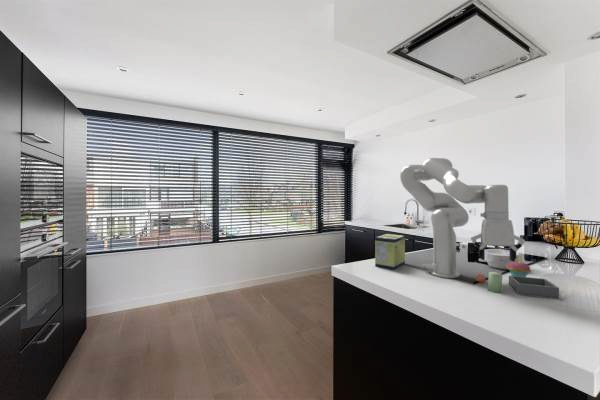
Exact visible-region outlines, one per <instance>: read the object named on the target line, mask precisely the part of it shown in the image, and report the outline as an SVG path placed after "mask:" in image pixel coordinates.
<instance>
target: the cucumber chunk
mask: <svg viewBox="0 0 600 400" xmlns="http://www.w3.org/2000/svg"><path fill="white" fill-rule="evenodd" d="M487 278H488V279H487V281H488V282H487V284H488V285H487V287H488V289H487V290H488V291H490V292H492V293H497V294H501V293H502V292H503V273H501V272H497V271H488V277H487Z"/></svg>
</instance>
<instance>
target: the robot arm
mask: <svg viewBox="0 0 600 400" xmlns="http://www.w3.org/2000/svg"><path fill="white" fill-rule="evenodd" d="M459 174H460V173H459V170H457V169H456V168H454V167H453V163H452V162H451V160H449V159H447V158H444V157H443V158H442V157H431V158H428V159H426V160H424V162H423V163H422V164H409V165H406V166H404V167H403V168H402V169H401V170H400V176H399V177H400V182H401V184H402V186H403V188H404V189H405V190H406V191H407V192H408V193H409V194H410V196H412V197H413V198H414V199H415V201H417V203H418V204H419V205H420V206H421V207H422V208H423V210H425V211H426V212H429V213H431V217H430V220H431V225H432V235H433V236H432V237H433V238H432V240H433V243H432V246H433V260H432V263H423V264H422V268H423V269H424V268H425V269H426V270H427V269H428V270H429V273H430V274H431V275H433V276H436V277H439V278H443V279H444V278H447V279H457V278H460V276H461V273H460V272H459V271H457V235H456V232H455V230H454V228H459V227H460V228H461V227H464V226H465V225H467V224H468V222H469V218H470V217H469V214H468V212H467V210H466V209H465V208H464V206H462V205H461V204H460V203H462V204H467V205H468V204H484V211H483V213H480V214H479V215H480V217H481V218H483V220H482V222H481V227H480V228H481V229H480V233H479V234H477V235H474V236H472V237H470V240H471V242H472V243H473V245H474V246H475V247H477V248H478V257H479V258H480V259H481V260H483V261H485V252H484V250H485V249H484V248H485V247H486V246H489V247H490V246H491V247H492V246H493V247H509V248H510V249H509V251H510V260H511V261H513V262H515V259H516V252H518V250H519V249H521V247H523V245H524V244H525V242H526V240H525V239H524V238H521V237H519V236H517V235H515V233H514V232H515V231H514V230H515V229H514V226H513V224H514V223H513V221H512V220H511V219H510V216H509V215H510V214H509V186H507V185H506V184H490V185H489V184H488V185H483V184H481V185H479V184H478V185H477V184H474V185H473V184H469V185H468V184H466V183H464V182H463V181H462V180H459V179H458V178H459ZM430 180H436V181H437V182H438V183H440V184H442V186H443V188H444V190H445V192H435V191H433V190H432V189H430V188H429V187H428V186H427V185H426V184H425V183H423V182H424V181H425V182H426V181H430ZM422 181H423V182H422ZM458 201H459V202H460V203H459V202H458ZM479 239H480V243H478V241H477V240H479ZM515 240H517V243H515V242H516V241H515Z"/></svg>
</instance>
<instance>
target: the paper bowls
mask: <svg viewBox="0 0 600 400" xmlns="http://www.w3.org/2000/svg"><path fill="white" fill-rule="evenodd" d="M484 252H485V260H484V261H485V262H487V263H486V264H488V266H489V267H491V268H495V269H498V268H499V269H500V270H508V269H507V267H506V265H507V264H508V263H510V262H513V261H511V260H510V249H509V250H508V249H501V248H489V249H484ZM520 254H521V253H520V252H518V251H516V259H515V262H519V257H520Z"/></svg>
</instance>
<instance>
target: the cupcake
mask: <svg viewBox="0 0 600 400" xmlns="http://www.w3.org/2000/svg"><path fill="white" fill-rule="evenodd" d="M519 254H520V257H519V262H510V263H508V264H507V265H506V267H507V269H506V270H509V272H510V276H520V277H527V276H528V274H529V273H531V266H530V265H528V264H526V263H525V262H522V255H523V254H522V253H519Z"/></svg>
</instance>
